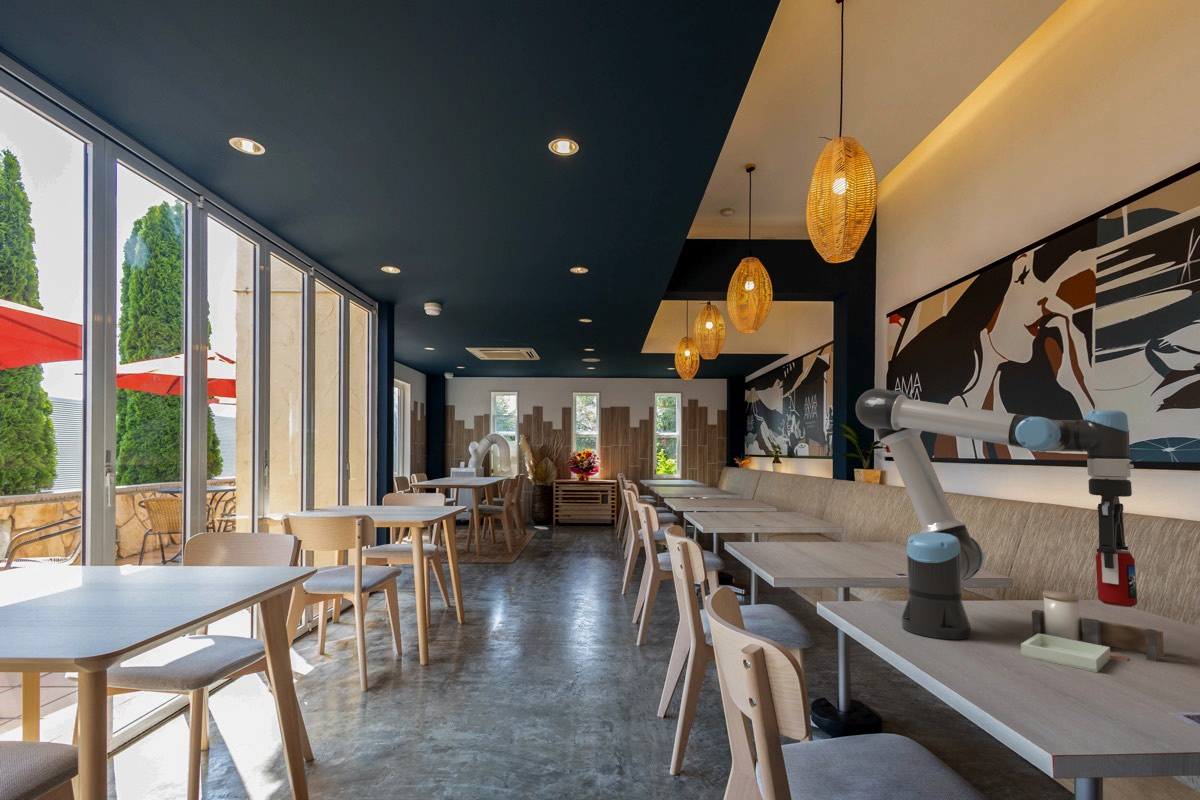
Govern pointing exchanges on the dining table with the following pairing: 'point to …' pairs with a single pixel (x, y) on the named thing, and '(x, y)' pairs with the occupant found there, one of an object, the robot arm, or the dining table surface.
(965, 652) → the dining table surface
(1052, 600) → the ceramic jar
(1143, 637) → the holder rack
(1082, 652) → the tray
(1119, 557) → the beverage can
